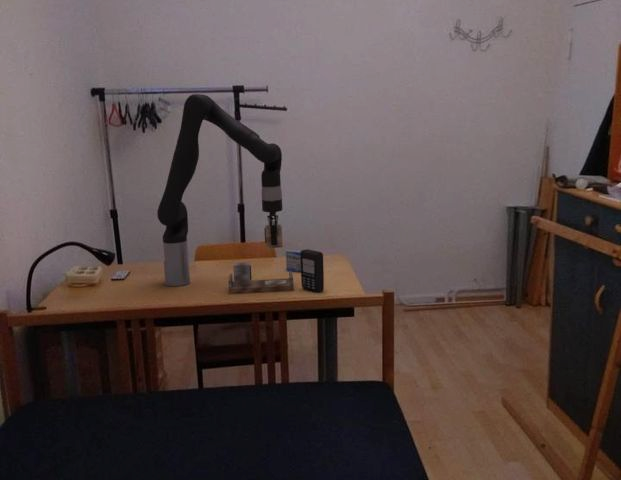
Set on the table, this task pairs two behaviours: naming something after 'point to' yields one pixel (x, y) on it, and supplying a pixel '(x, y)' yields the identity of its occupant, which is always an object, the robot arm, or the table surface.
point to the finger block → (268, 237)
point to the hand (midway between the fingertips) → (274, 243)
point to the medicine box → (293, 260)
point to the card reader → (312, 270)
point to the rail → (255, 281)
